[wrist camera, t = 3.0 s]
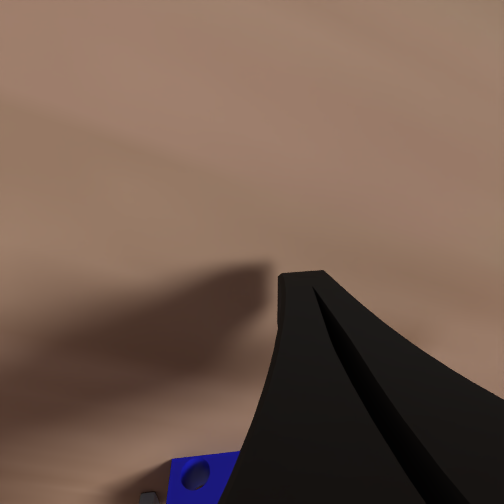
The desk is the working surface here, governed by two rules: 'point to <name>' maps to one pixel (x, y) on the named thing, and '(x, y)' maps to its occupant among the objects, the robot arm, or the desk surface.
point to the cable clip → (200, 478)
